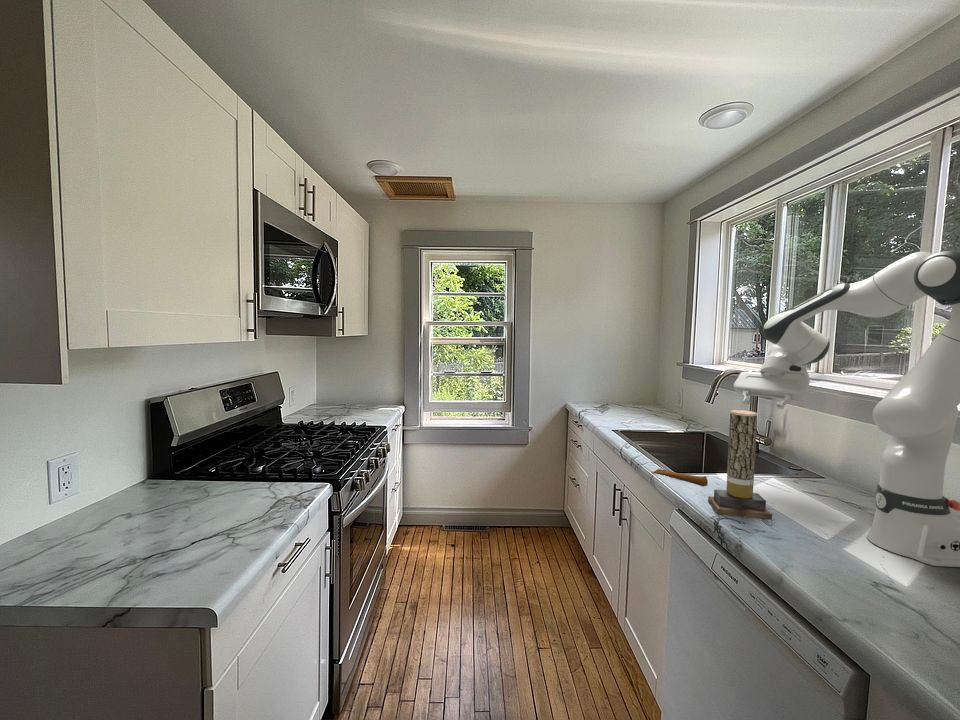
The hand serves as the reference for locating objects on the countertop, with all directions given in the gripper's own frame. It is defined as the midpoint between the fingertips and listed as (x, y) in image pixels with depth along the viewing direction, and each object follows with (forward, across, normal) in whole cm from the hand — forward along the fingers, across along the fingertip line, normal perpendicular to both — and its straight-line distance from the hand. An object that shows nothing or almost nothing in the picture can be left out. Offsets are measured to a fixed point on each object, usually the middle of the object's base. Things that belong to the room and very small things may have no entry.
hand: (762, 405), depth 134 cm
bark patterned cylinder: (+28, 0, +9) cm, 29 cm away
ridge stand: (+31, 0, +12) cm, 33 cm away
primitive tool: (+22, -26, +22) cm, 40 cm away
